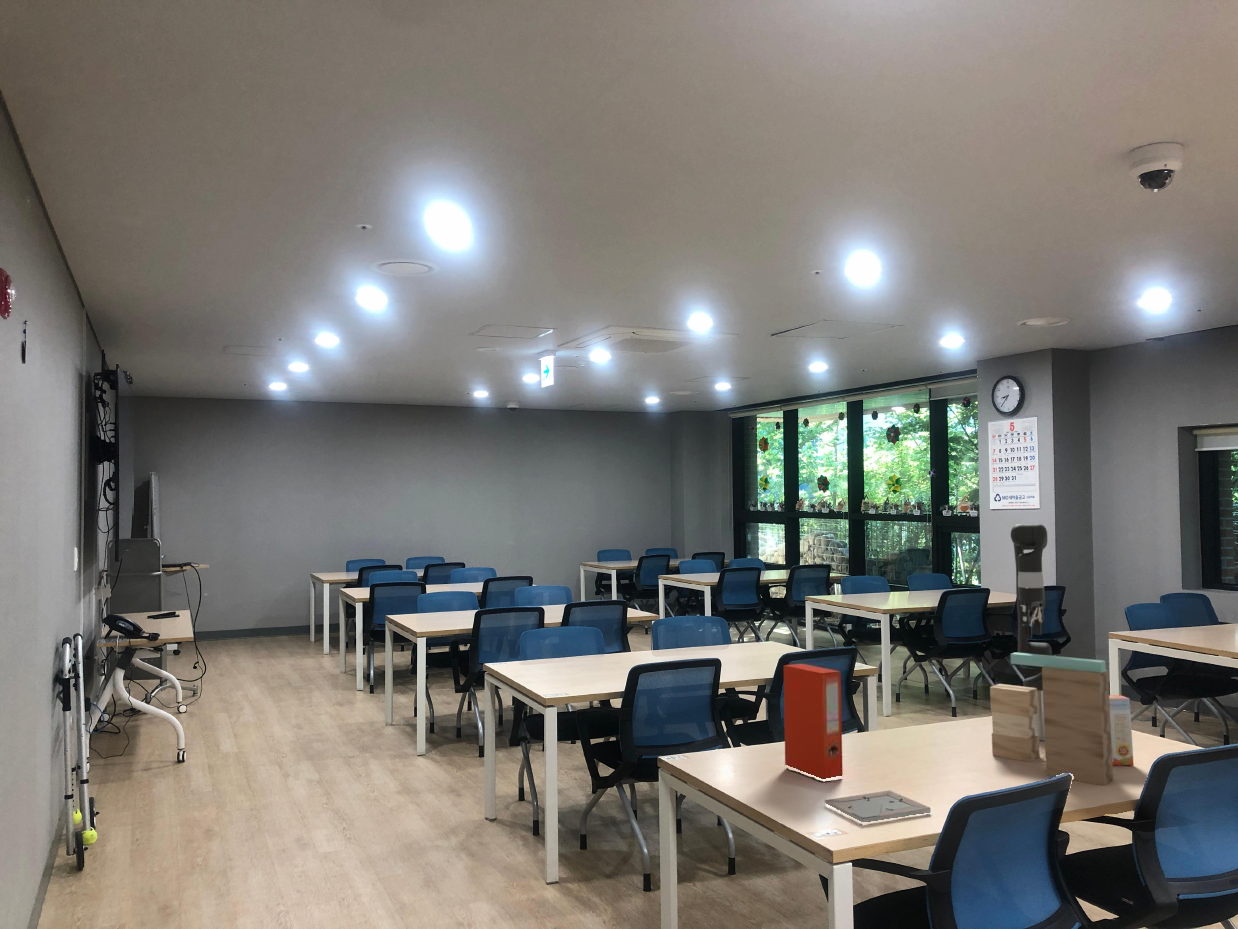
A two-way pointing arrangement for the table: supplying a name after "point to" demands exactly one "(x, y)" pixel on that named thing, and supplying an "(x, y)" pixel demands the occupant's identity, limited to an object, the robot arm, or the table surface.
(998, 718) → the block
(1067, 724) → the wooden moulding block
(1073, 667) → the batten
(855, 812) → the picture frame
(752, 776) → the table surface
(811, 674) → the file binder
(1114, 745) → the cracker box
